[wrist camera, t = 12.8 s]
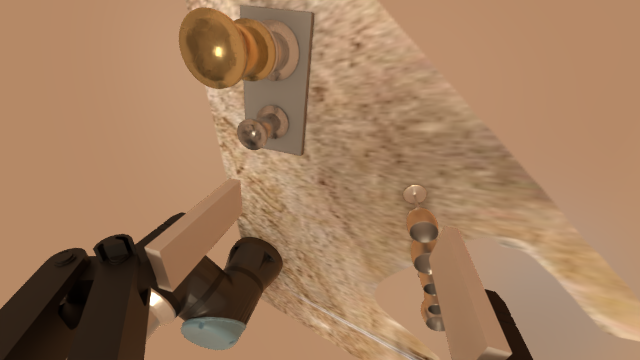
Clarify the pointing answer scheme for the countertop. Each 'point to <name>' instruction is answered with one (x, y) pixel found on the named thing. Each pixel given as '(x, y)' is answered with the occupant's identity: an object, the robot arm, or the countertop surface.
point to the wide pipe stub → (282, 49)
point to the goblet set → (424, 253)
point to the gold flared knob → (225, 48)
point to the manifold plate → (289, 90)
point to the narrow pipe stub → (263, 127)
